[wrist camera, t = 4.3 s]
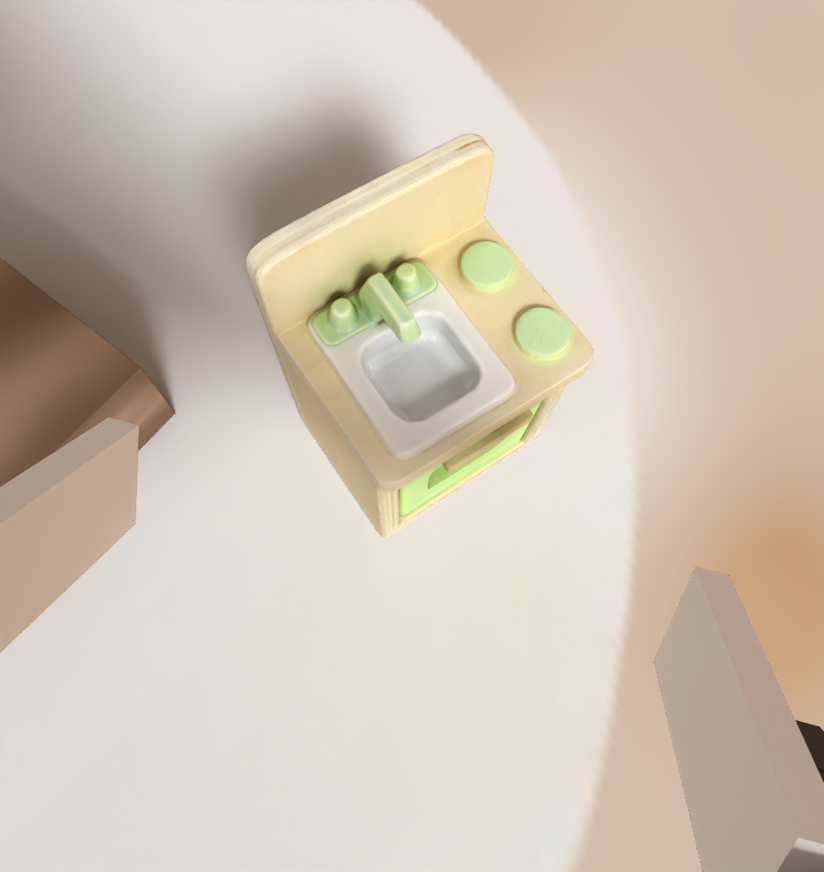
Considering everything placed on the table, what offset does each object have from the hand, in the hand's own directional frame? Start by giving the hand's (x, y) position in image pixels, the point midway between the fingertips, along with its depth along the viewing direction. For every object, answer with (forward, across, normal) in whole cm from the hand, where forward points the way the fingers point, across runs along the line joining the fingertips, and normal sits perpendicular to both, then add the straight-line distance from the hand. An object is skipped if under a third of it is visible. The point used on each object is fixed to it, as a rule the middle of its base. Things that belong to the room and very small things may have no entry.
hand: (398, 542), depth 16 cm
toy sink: (+15, -1, -4) cm, 16 cm away
